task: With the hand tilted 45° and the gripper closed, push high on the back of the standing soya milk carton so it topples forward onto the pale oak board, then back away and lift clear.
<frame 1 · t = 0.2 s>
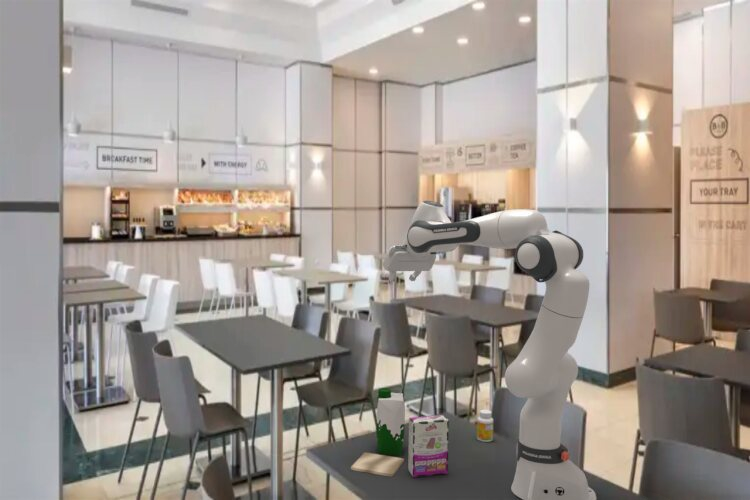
hand: (401, 280, 206), 54 cm above the table, tool tilted 25°, fingers open, 8 cm apart
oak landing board: (377, 465, 183), on the table
soya milk: (389, 451, 194), on the table
candy bar box: (427, 473, 179), on the table
supplement bottle: (484, 439, 206), on the table
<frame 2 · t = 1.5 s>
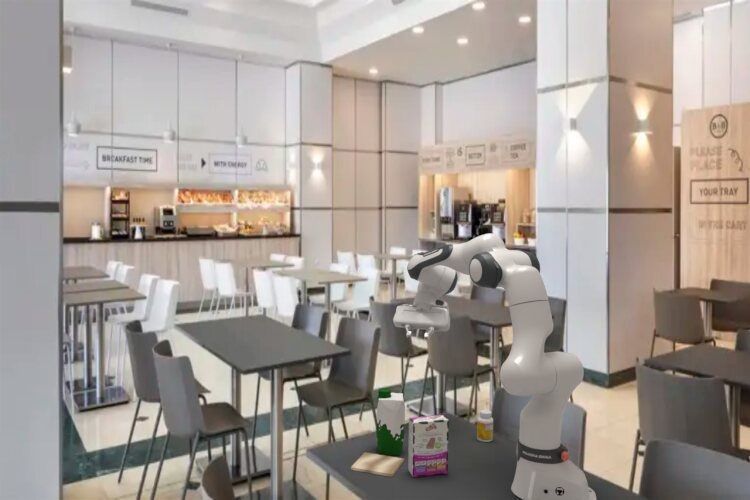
hand: (417, 337, 210), 33 cm above the table, tool tilted 45°, fingers open, 5 cm apart
nothing on the table moved.
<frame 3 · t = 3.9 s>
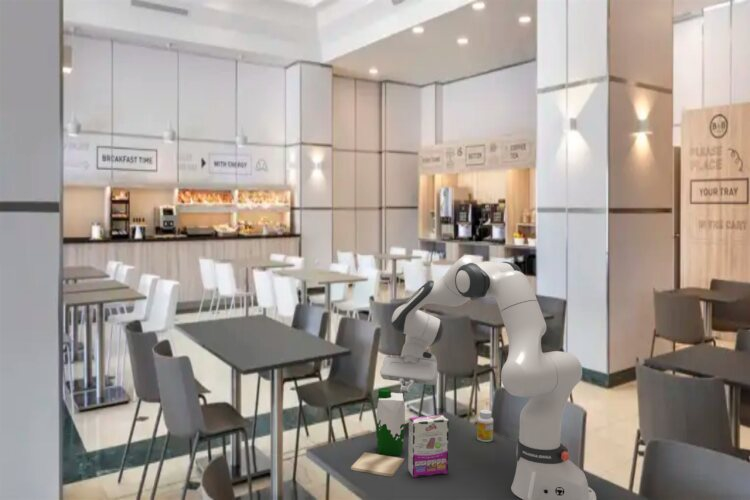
hand: (404, 391, 207), 15 cm above the table, tool tilted 45°, fingers closed
nothing on the table moved.
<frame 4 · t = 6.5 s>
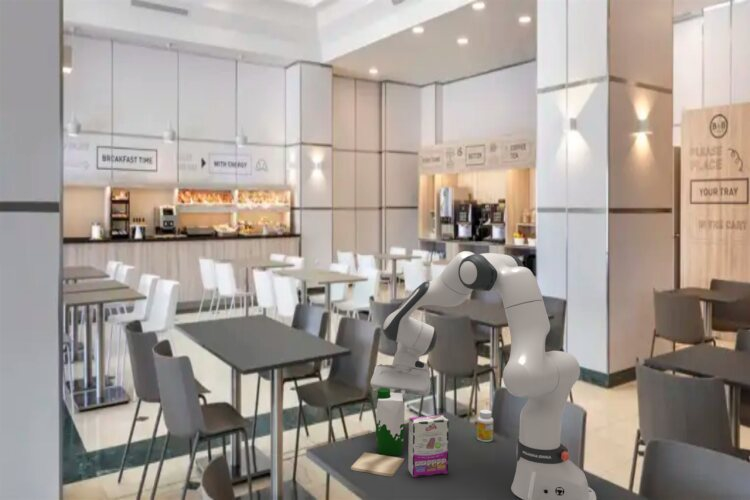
hand: (395, 403, 198), 14 cm above the table, tool tilted 45°, fingers closed, pressing on soya milk
soya milk: (389, 451, 194), on the table, touching gripper
everything else where it was.
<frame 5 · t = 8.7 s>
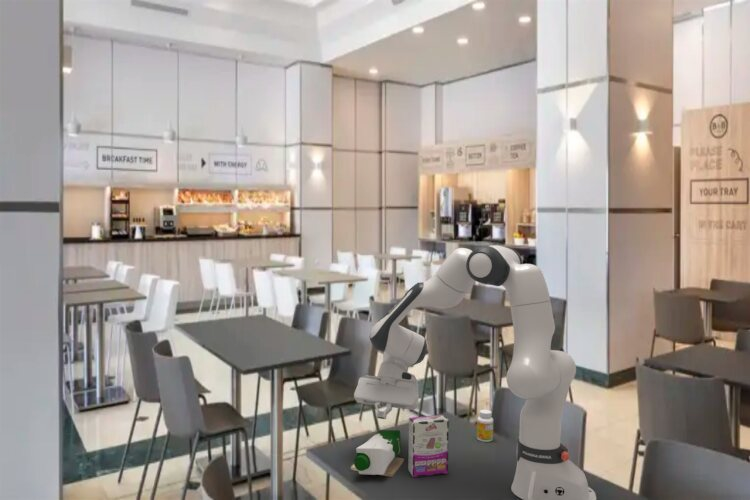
hand: (380, 417, 183), 14 cm above the table, tool tilted 45°, fingers closed
soya milk: (390, 440, 190), point 5 cm above the table, touching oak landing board
everything else where it was.
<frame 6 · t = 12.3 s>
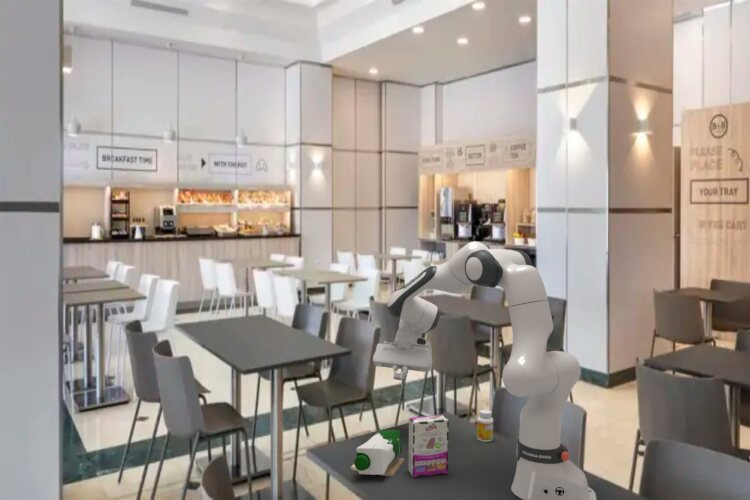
hand: (397, 379, 200), 22 cm above the table, tool tilted 45°, fingers closed
nothing on the table moved.
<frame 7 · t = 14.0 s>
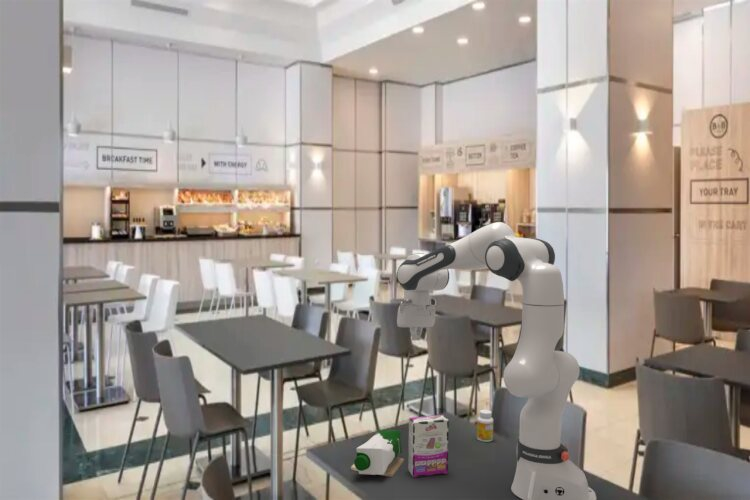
hand: (416, 340, 208), 33 cm above the table, tool pointing down, fingers closed
nothing on the table moved.
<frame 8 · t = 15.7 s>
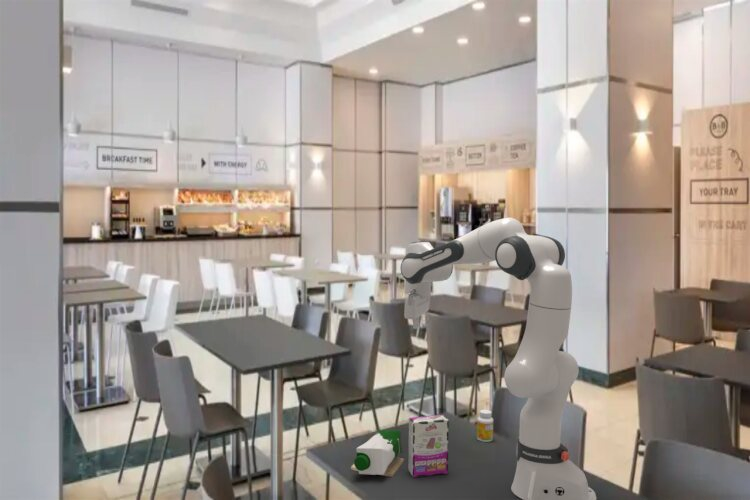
hand: (416, 328, 208), 37 cm above the table, tool pointing down, fingers closed
nothing on the table moved.
at the end: soya milk tilted 89°; soya milk touching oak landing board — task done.
